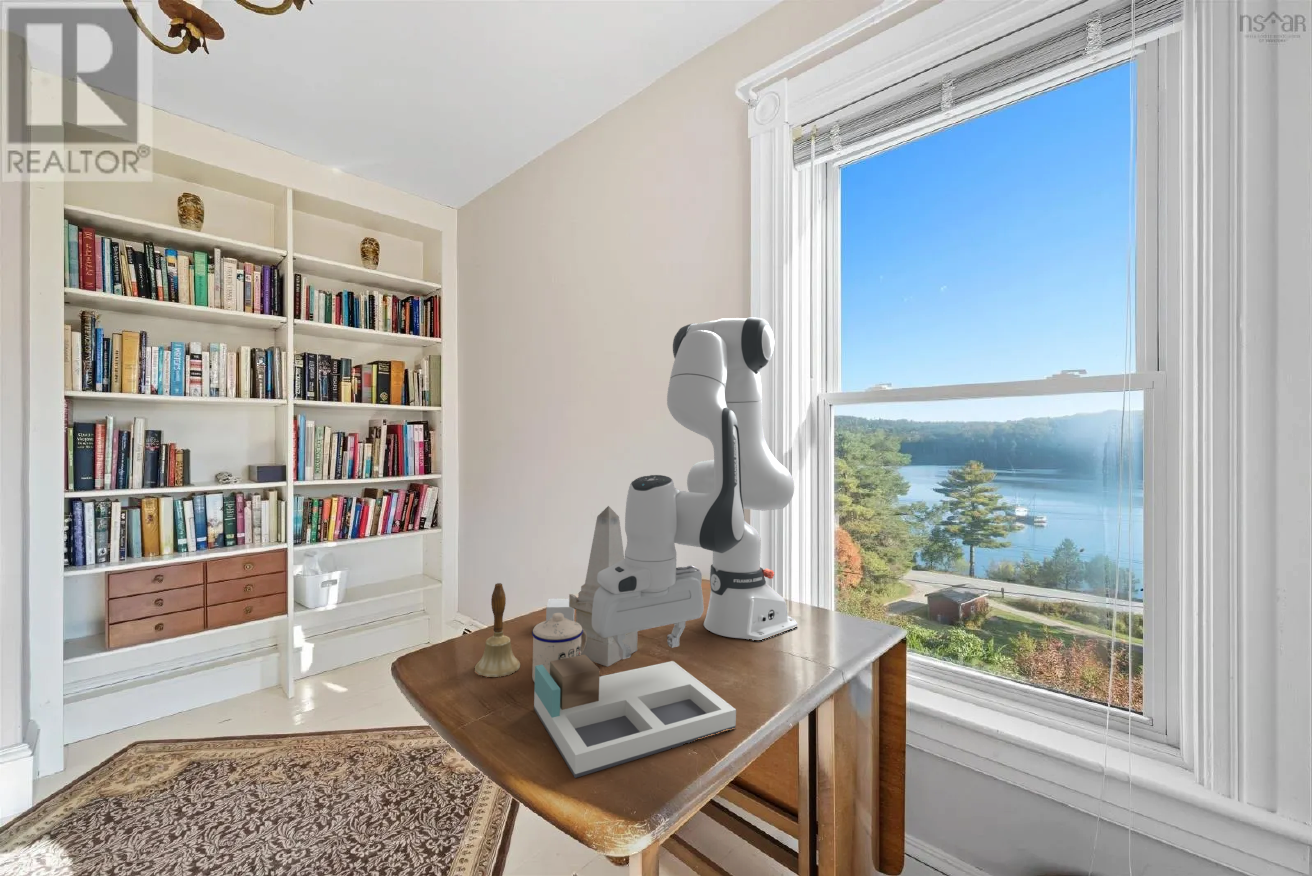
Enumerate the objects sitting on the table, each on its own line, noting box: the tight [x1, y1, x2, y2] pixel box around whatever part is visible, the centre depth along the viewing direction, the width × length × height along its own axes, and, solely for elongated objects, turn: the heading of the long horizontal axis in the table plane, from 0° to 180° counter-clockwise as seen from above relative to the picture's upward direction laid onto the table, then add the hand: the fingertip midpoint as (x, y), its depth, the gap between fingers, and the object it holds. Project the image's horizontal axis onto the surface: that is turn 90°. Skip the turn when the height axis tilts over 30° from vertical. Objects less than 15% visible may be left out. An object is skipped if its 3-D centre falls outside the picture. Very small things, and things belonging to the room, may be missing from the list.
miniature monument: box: [568, 505, 639, 667], centre depth 108 cm, size 10×10×30 cm
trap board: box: [533, 660, 737, 779], centre depth 83 cm, size 26×19×7 cm
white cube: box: [545, 598, 575, 621], centre depth 120 cm, size 6×6×6 cm
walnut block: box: [550, 655, 601, 710], centre depth 84 cm, size 6×6×5 cm
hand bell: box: [474, 582, 521, 678], centre depth 100 cm, size 8×8×16 cm
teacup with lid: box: [531, 613, 587, 683], centre depth 98 cm, size 12×9×12 cm
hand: (649, 651), depth 91 cm, fingers open, 8 cm apart
